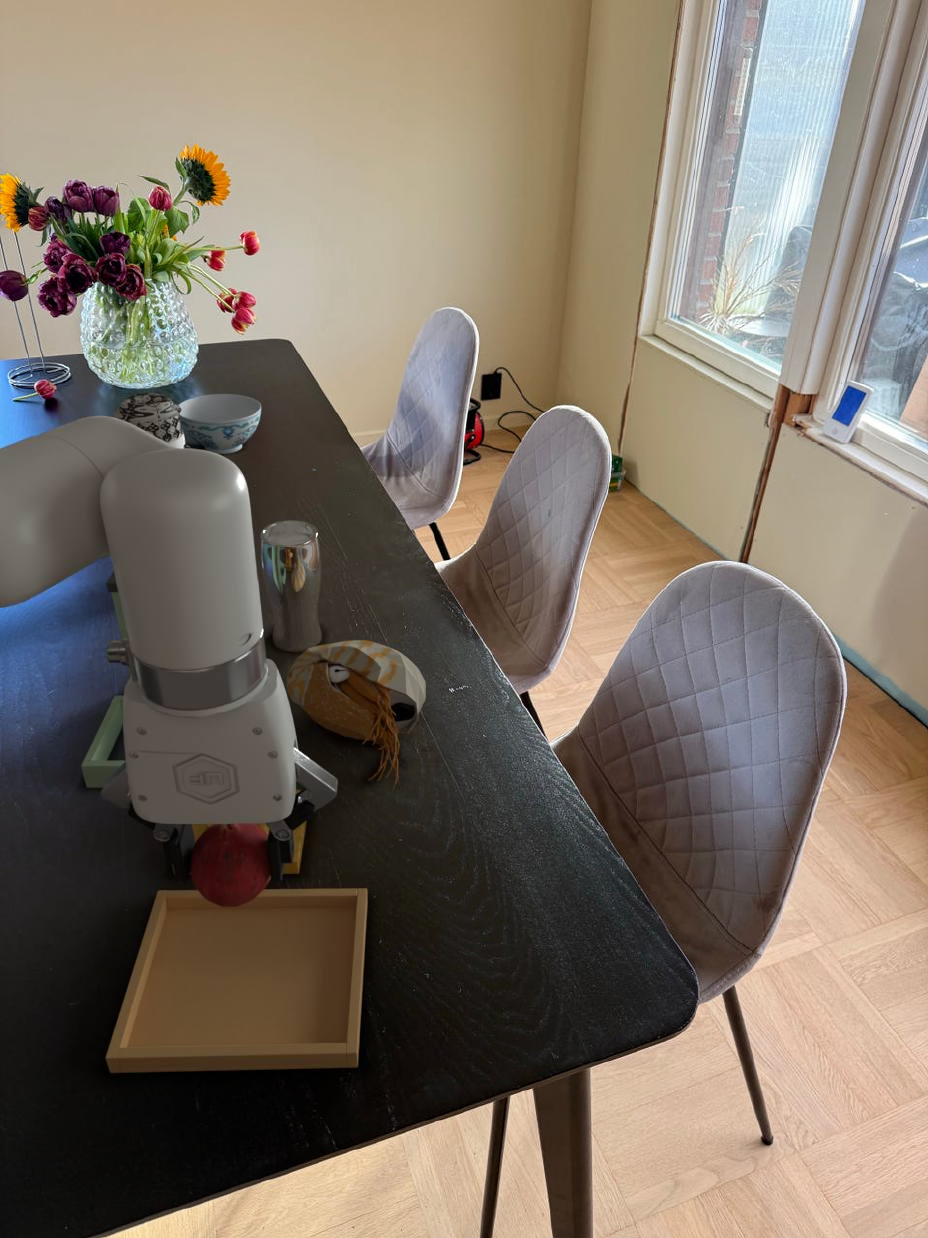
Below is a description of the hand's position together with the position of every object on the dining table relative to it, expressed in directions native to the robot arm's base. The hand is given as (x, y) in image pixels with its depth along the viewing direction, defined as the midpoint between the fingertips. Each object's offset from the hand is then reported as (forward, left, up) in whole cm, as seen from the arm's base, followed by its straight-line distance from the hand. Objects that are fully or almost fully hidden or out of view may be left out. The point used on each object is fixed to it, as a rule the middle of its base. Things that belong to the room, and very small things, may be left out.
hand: (233, 864), depth 60 cm
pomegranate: (0, 0, -4) cm, 4 cm away
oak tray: (0, 0, -13) cm, 13 cm away
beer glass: (-2, +48, -14) cm, 50 cm away
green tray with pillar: (-14, +30, -13) cm, 36 cm away
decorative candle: (-21, +64, -14) cm, 69 cm away
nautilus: (+7, +30, -14) cm, 34 cm away
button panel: (-3, +15, -13) cm, 20 cm away
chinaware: (-23, +111, -14) cm, 114 cm away
